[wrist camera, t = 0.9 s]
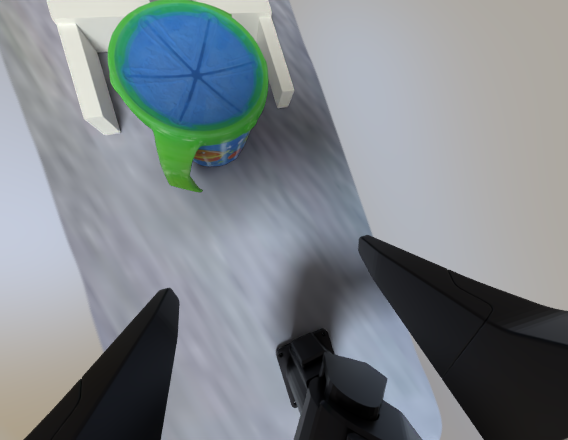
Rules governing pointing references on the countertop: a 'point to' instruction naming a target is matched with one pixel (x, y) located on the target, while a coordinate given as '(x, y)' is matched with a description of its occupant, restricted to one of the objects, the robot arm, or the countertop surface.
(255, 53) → the snack cup
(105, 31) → the centring cradle
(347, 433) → the robot arm
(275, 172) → the countertop surface
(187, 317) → the countertop surface
